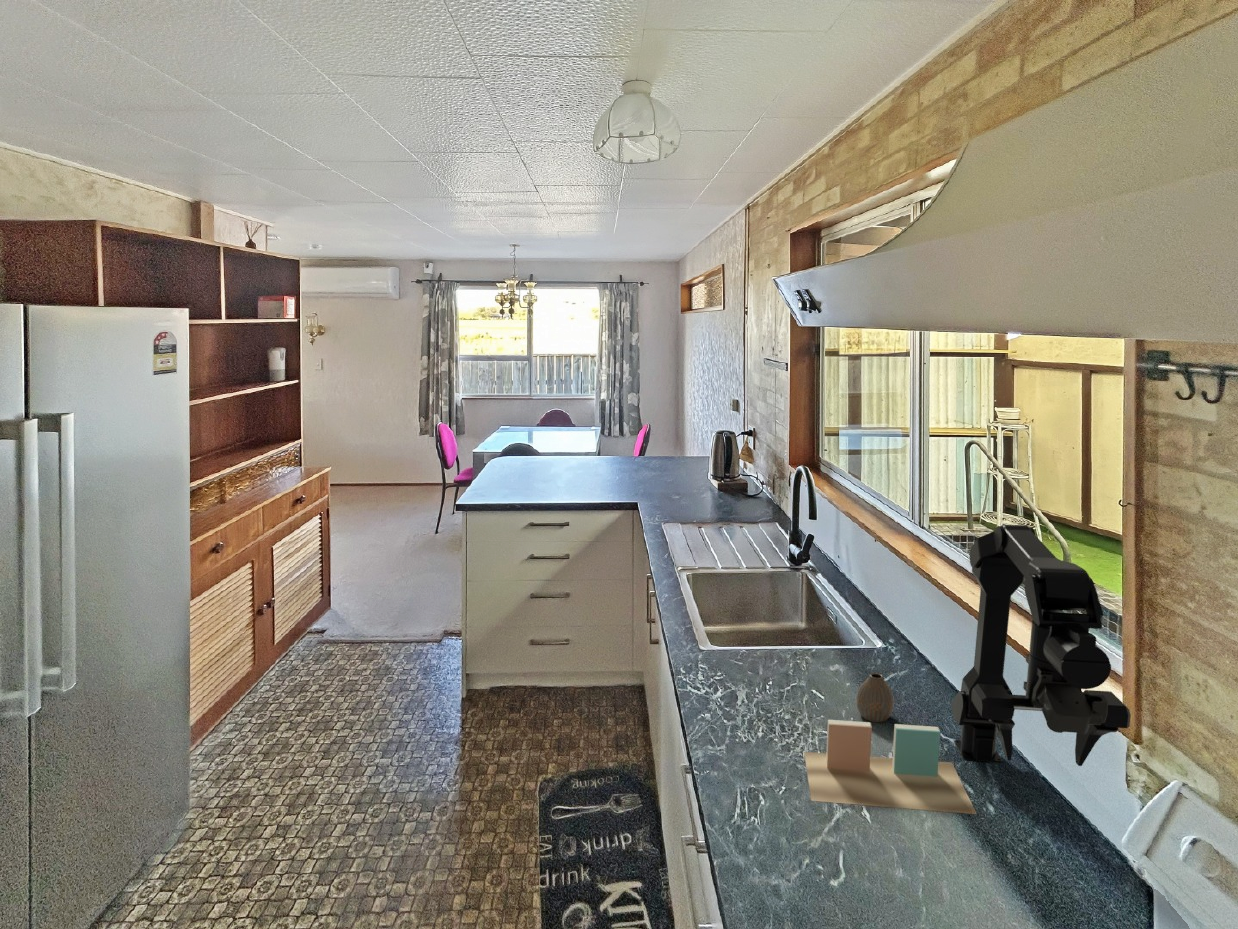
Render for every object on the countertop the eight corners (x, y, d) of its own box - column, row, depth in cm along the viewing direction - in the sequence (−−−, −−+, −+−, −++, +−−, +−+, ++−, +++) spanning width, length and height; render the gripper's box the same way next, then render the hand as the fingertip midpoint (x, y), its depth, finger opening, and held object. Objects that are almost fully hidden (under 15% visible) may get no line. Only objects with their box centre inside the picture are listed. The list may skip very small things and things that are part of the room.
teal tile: (892, 767, 136) (894, 724, 134) (934, 770, 135) (937, 727, 133) (894, 773, 134) (896, 729, 133) (937, 776, 133) (940, 732, 132)
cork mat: (804, 754, 141) (804, 751, 141) (951, 764, 137) (951, 762, 137) (811, 803, 126) (811, 800, 126) (976, 816, 123) (976, 814, 123)
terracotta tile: (826, 762, 137) (827, 719, 136) (867, 765, 136) (870, 722, 135) (827, 768, 136) (829, 724, 134) (869, 771, 135) (871, 727, 133)
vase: (868, 729, 150) (870, 685, 148) (848, 712, 156) (850, 670, 155) (900, 724, 151) (902, 681, 150) (880, 708, 158) (882, 666, 157)
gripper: (998, 677, 102) (989, 789, 104) (1157, 686, 99) (1144, 801, 102) (974, 644, 113) (966, 745, 115) (1116, 651, 110) (1105, 755, 112)
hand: (1043, 762), depth 111 cm, fingers open, 9 cm apart
